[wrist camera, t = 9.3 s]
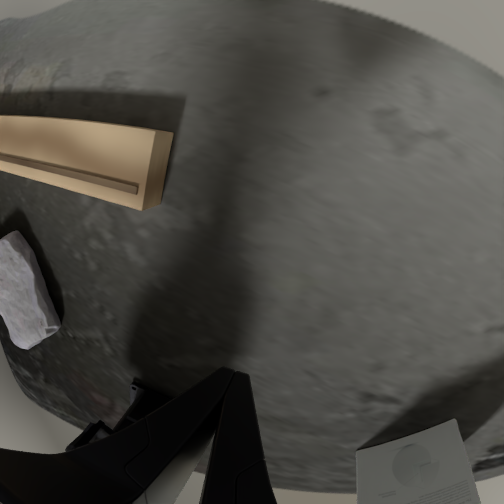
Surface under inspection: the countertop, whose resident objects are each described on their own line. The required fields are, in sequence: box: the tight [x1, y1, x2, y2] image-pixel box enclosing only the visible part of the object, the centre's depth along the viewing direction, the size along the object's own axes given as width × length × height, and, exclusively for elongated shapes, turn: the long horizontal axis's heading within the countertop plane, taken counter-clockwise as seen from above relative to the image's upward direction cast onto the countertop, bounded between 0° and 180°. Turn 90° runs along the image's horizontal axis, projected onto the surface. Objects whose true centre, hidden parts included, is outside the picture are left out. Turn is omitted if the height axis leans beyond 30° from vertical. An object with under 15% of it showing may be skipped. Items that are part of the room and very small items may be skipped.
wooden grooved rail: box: [0, 115, 174, 211], centre depth 20 cm, size 5×26×4 cm, turn 76°
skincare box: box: [356, 418, 481, 504], centre depth 19 cm, size 10×6×10 cm, turn 116°
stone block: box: [0, 230, 61, 349], centre depth 26 cm, size 12×5×10 cm
